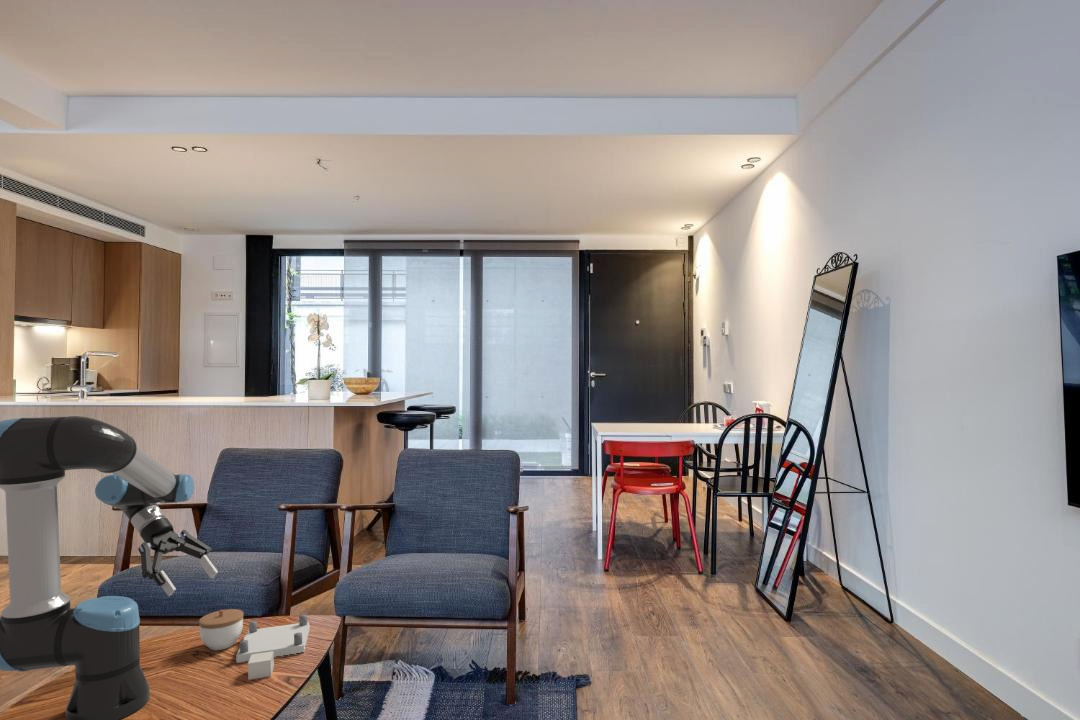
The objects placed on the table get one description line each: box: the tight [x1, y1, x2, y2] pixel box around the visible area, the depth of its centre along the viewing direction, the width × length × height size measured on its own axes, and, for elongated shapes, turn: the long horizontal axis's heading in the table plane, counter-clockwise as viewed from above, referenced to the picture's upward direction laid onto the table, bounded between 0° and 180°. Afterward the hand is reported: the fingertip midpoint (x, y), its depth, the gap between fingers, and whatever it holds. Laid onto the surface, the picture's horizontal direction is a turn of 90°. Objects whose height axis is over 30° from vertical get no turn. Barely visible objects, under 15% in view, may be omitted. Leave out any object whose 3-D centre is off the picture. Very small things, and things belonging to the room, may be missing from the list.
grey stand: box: [235, 613, 311, 664], centre depth 164 cm, size 16×16×4 cm
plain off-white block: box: [247, 651, 275, 681], centre depth 149 cm, size 5×5×4 cm
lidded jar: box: [198, 608, 244, 651], centre depth 165 cm, size 11×11×9 cm
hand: (194, 583), depth 169 cm, fingers open, 13 cm apart
